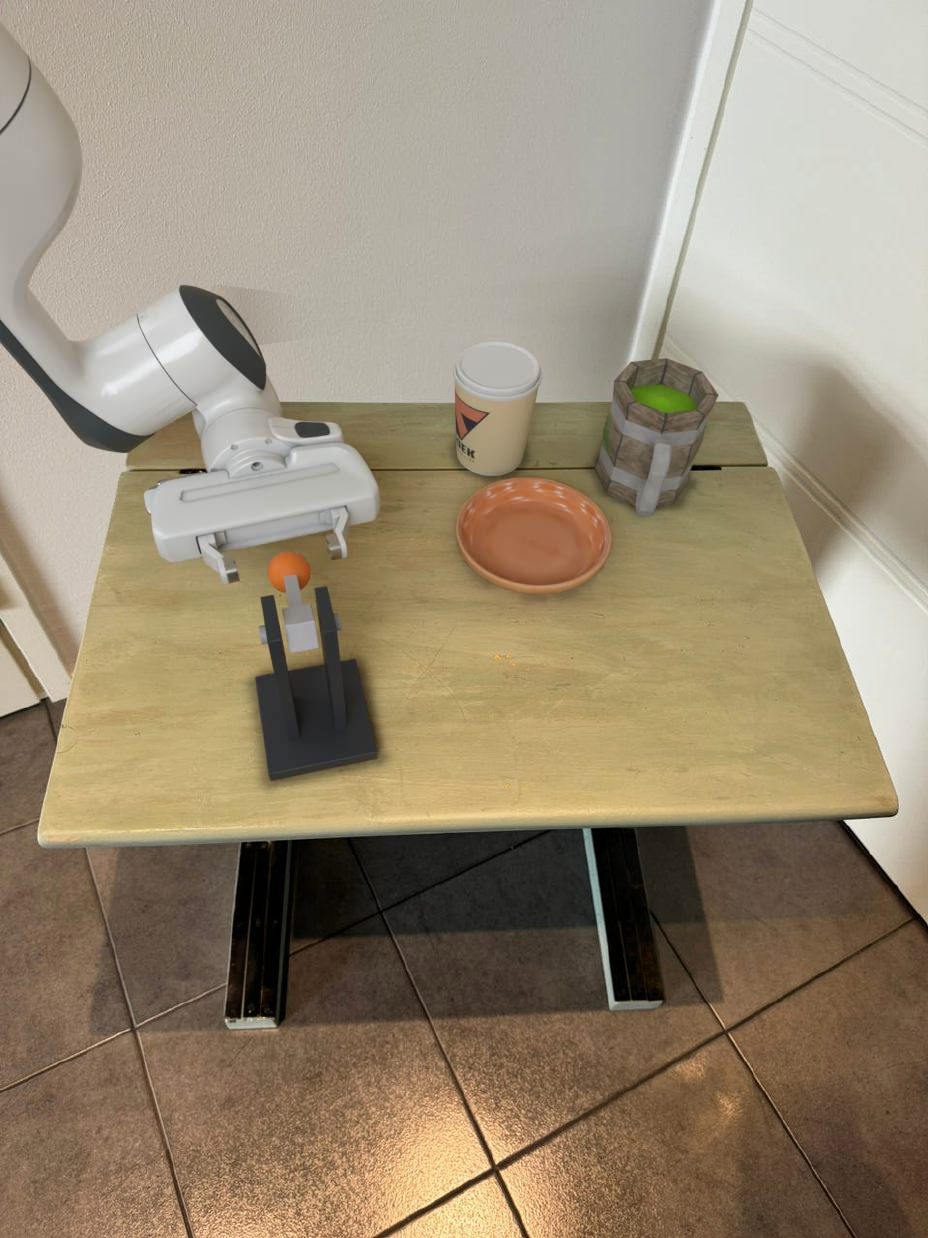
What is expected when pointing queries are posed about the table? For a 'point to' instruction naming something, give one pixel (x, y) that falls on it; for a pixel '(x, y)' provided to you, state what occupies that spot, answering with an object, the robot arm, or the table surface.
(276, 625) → the switch base
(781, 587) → the table surface
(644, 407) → the mug
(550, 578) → the saucer
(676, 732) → the table surface
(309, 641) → the lever
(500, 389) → the coffee cup
